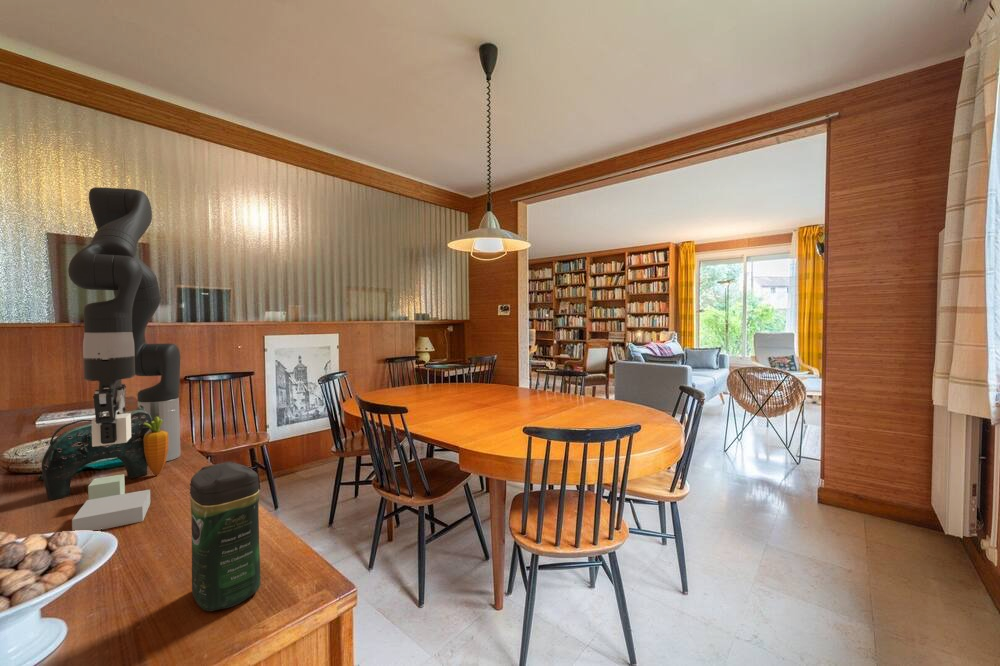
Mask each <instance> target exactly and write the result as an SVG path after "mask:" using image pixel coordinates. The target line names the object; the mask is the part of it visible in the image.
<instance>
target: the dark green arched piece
mask: <svg viewBox="0 0 1000 666" xmlns="http://www.w3.org/2000/svg"><path fill="white" fill-rule="evenodd" d="M123 413H124V414H126V413H131V438H130V439H129V440H128V441H127V443H119V444H111V445H103V446H94V447H92V423H91V421H92V420H93V419H79V420H75V421H72V422H68V423H66V424H64V425H61V426H60V427H59V428H58V429H56V430H55V431H54V432H53V434H52V436H51V438H50V440H49V446H48V447H47V450H46V452H44V455H43V458H42V461H41V476H42V479H43V484H44V487H45V492H46V497H47V499H49V500H51V501H55V500H59V499H63V498H67V497H70V496H71V483H72V478H73V477H74V476H75V474H76V473H77V472H78V471H79V470H80V469H82V468H84V467H85V466H87V465H89V464H91V463H94V462H97V461H102V460H108V459H114V458H117V459H118V460H120V461H121V462H122V464H123V466H124V468H125V470H126V474H127V478H129V479H131V478H132V480H134V478H135V479H137V478H139V477H144V476H147V475H148V464H147V461H146V457H145V452H144V440H143V439H144V435H145V434H146V433H147V432H148V431H149V429H150V428H149V427H147V426H145V425H143V424H144V423H148V424H150V425H151V426H152V423H151V422H152V418H151V415H150V414H149V413H147V412H146V411H145V409H144V407H143V406H142V405H139V407H138V406H137V408H136V409H133V410H129V411H125V412H123ZM83 422H89V423H86V424H82V425H79V426H75V427H72V428H69V429H67V430H66V431H64V432H63V433H61V434H59V435H58V436H57V437H55V436H56V435H57V433H59V432H60V431H61V430H63V429H64V428H66V427H68V426H71V425H74V424H77V423H83Z"/></svg>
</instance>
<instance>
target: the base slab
mask: <svg viewBox="0 0 1000 666" xmlns="http://www.w3.org/2000/svg"><path fill="white" fill-rule="evenodd" d="M150 505H151V489H146V490H139V491H133V492H127V493H126V492H125V494H120V495H115V496H109V497H103V498H97V499H91V500H89V499H87V500H86V501H85V502H84V503H83V505H82V506H81V507H80V508H79V510H78V511H77V513H76V514H75V515H74V516H73V518H72V519H71V527H72V528H71V529H72V531H75V530H98V531H102V530H103V531H104V530H107V529H111V528H112V529H113V528H115V527H116V528H118V527H121V526H126V525H130V524H132V525H133V524H137V523H141V522H144V519H145V517H146V515H147V512H148V509H149V508H150ZM101 528H102V530H101Z"/></svg>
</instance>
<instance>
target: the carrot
mask: <svg viewBox="0 0 1000 666" xmlns="http://www.w3.org/2000/svg"><path fill="white" fill-rule="evenodd" d="M154 419H155V422H154V421H152V422H151V423H152V426H151V425H150V424H148V423H144V424H143V425H145V426H147V427H149V428H150V429H151V431H152V432H149V433H148V434H146V435H145V436H144V439H143V440H144V452H145V457H146V461H147V467H148V468H149V470H150V471H151V472H152V473H153V475H154V476H156V475H158V476H159V475H160V474H161V472H162V471H163V469H164V467H165V464H166V462H167V461H166V458H167V453H168V433H167V432H166V431H159V430H160V426H161V424H162V421H163V420H162V419H159V417H154Z"/></svg>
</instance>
